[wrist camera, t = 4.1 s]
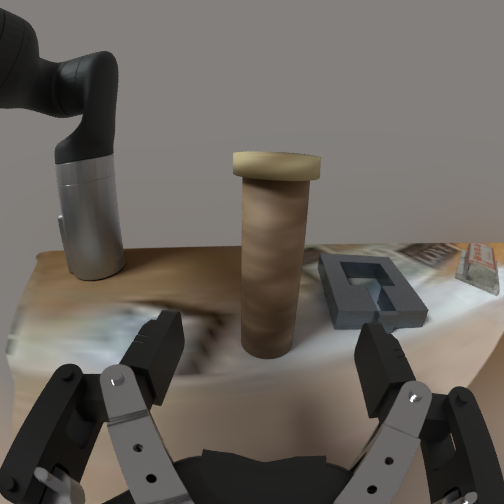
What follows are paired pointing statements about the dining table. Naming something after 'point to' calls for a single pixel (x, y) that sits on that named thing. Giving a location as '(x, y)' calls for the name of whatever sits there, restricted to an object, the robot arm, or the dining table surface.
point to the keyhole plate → (358, 298)
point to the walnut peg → (272, 245)
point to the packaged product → (479, 268)
